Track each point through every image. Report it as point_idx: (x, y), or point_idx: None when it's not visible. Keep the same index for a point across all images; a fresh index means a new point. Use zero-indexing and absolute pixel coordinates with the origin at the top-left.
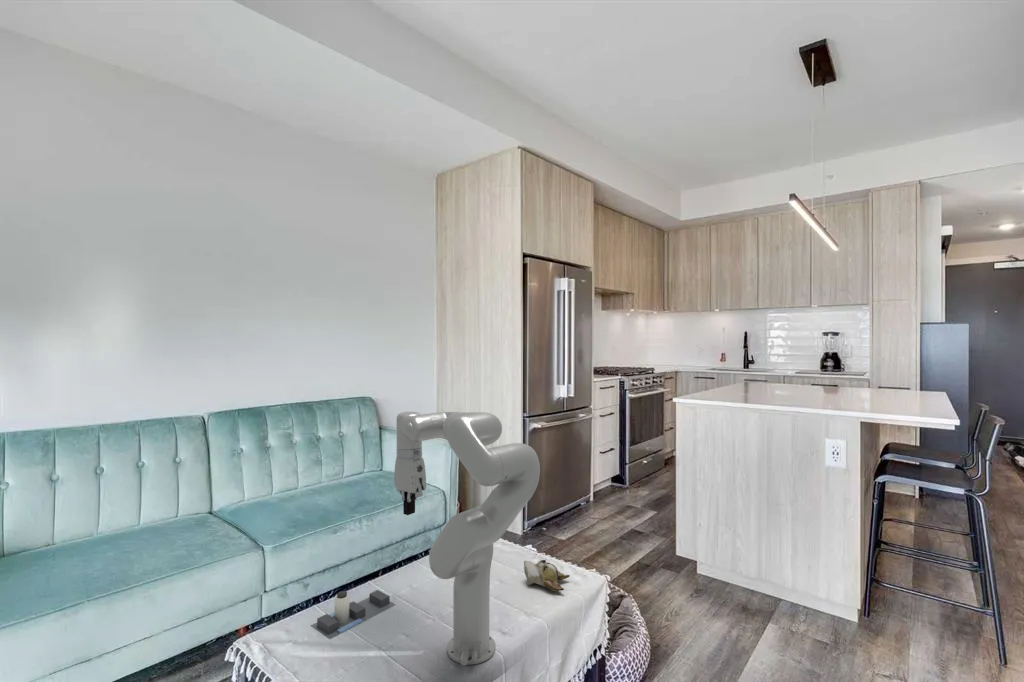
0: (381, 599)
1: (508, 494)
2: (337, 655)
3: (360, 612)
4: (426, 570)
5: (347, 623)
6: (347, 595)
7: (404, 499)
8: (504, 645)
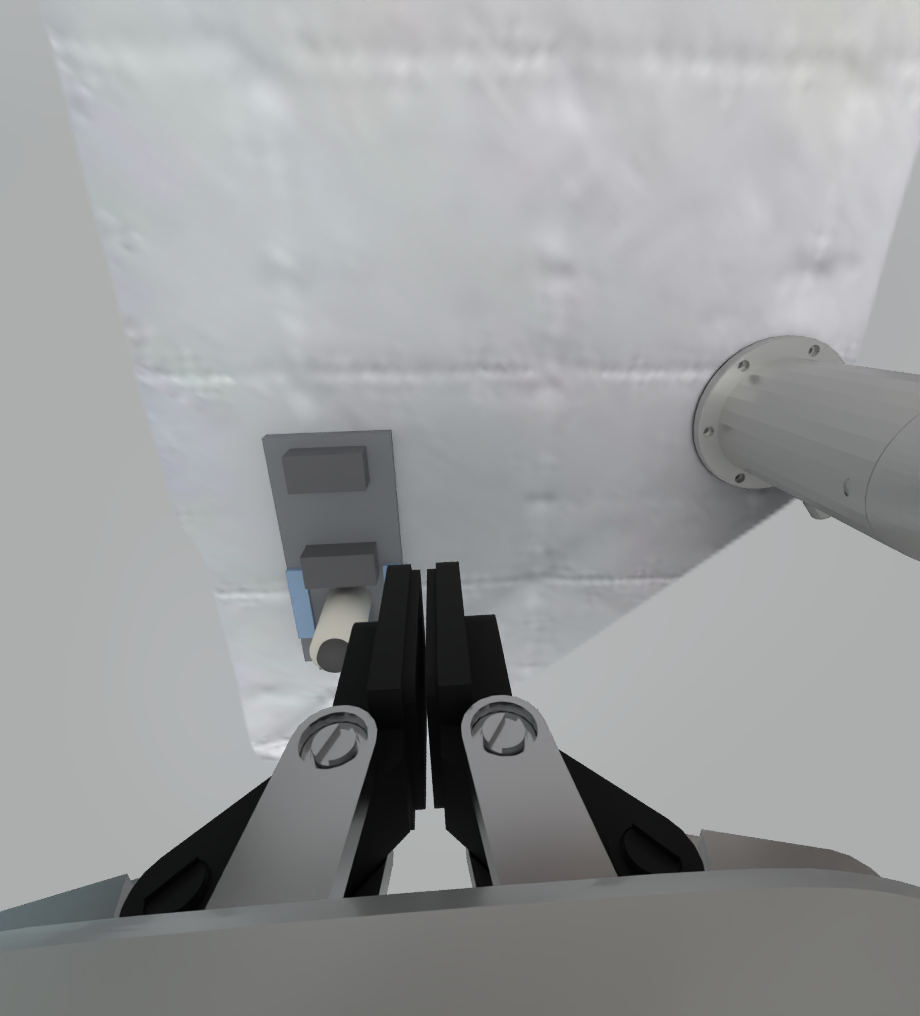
0: (361, 487)
1: None
2: None
3: (376, 568)
4: (175, 84)
5: (373, 594)
6: (345, 639)
7: (392, 851)
8: (853, 324)
